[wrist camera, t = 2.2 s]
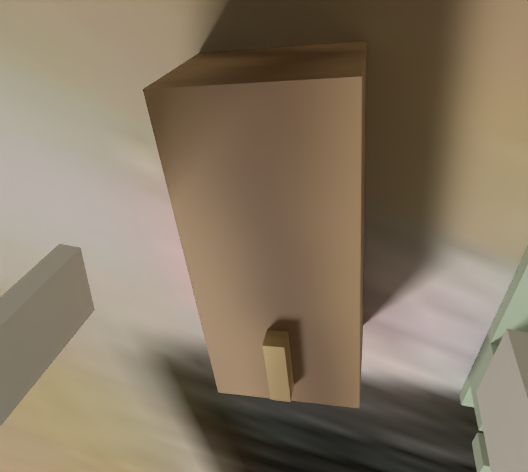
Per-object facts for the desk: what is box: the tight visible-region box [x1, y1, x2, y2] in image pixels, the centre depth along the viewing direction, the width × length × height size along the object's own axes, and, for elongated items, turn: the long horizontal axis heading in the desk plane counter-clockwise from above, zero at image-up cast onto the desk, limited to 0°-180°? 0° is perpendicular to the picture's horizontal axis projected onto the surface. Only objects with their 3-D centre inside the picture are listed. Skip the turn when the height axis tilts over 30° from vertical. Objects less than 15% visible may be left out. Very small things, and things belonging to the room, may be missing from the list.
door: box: [143, 41, 367, 408], centre depth 17 cm, size 6×13×6 cm, turn 7°
